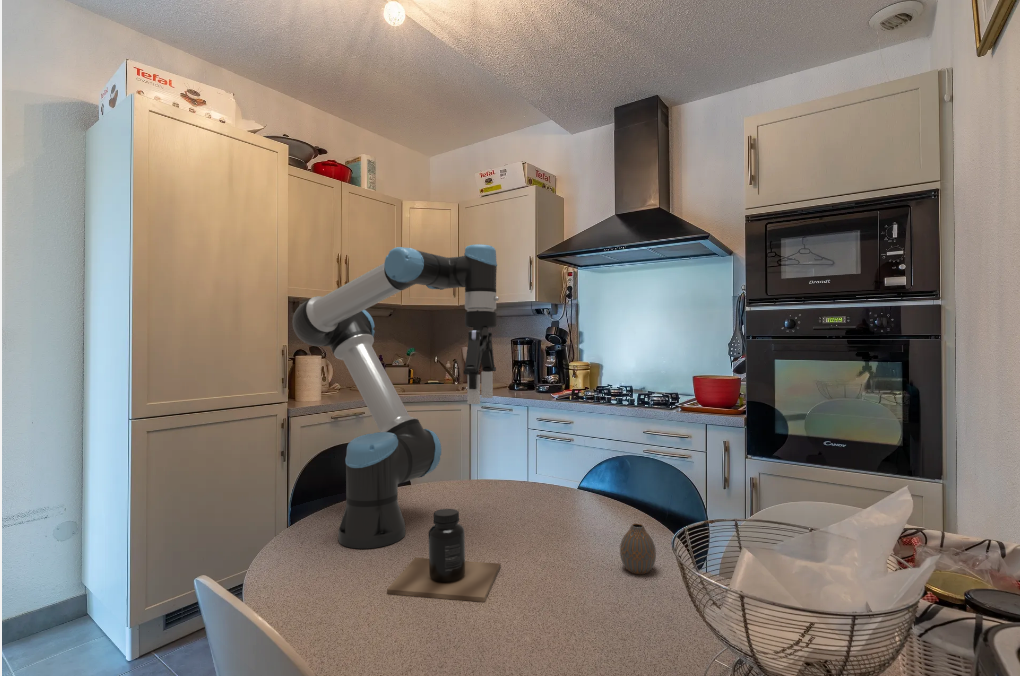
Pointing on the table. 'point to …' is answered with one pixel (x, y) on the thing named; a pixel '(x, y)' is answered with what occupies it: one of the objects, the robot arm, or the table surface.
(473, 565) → the board
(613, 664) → the table surface
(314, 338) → the robot arm
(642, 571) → the vase
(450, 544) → the supplement bottle
